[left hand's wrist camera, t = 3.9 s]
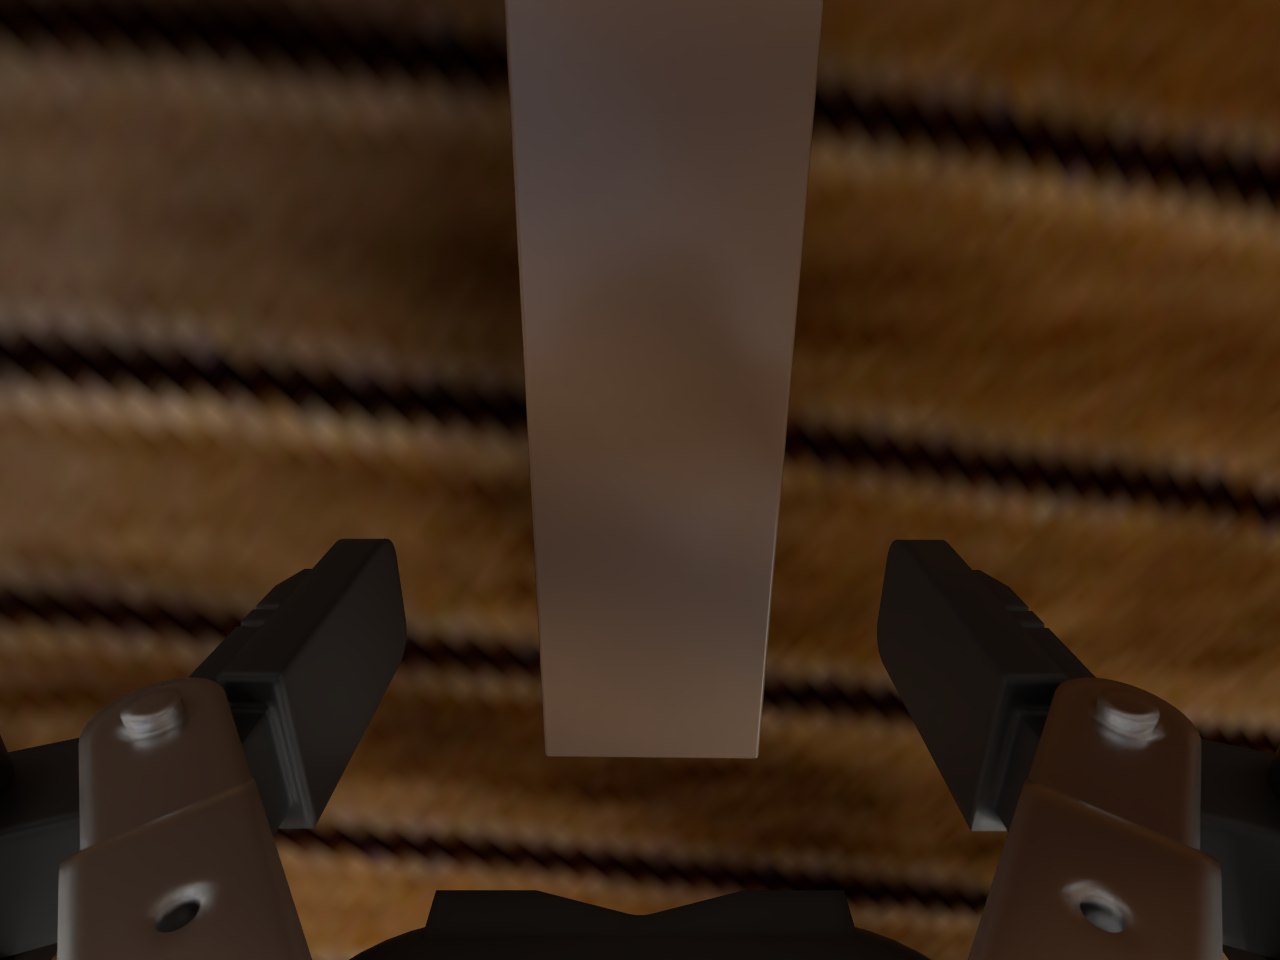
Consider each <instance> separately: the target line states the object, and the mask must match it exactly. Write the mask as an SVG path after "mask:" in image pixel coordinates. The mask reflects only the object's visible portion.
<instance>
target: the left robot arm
mask: <svg viewBox="0 0 1280 960" xmlns="http://www.w3.org/2000/svg"><path fill="white" fill-rule="evenodd" d="M877 640H878V648H879V653H880V657H881V660H882V662H883V664H884V666H885V668H886V670H887V672H888V674H889V676H890V678H891V680H892V682H893V683H894V685H895V687H896V689H897V691H898V693H899V695H900V697H901V699H902V701H903V702H904V704H905V706H906V708H907V710H908V712H909V714H910V716H911V718H912V720H913V721H914V723H915V725H916V727H917V729H918V731H919V733H920V735H921V737H922V739H923V740H924V742H925V744H926V746H927V748H928V750H929V752H930V754H931V756H932V757H933V759H934V761H935V763H936V765H937V767H938V769H939V771H940V773H941V775H942V776H943V778H944V780H945V782H946V784H947V786H948V788H949V790H950V792H951V794H952V795H953V797H954V799H955V801H956V803H957V805H958V807H959V809H960V811H961V813H962V814H963V816H964V818H965V820H966V822H967V824H968V826H969V828H970V830H971V831H1008V835H1007V839H1006V842H1005V845H1004V848H1003V851H1002V854H1001V857H1000V861H999V864H998V867H997V870H996V873H995V876H994V879H993V883H992V886H991V889H990V892H989V895H988V898H987V901H986V905H985V908H984V911H983V914H982V917H981V920H980V923H979V927H978V930H977V933H976V936H975V939H974V942H973V945H972V949H971V952H970V955H969V958H968V960H1223V952H1224V954H1225V955H1226V956H1227V958H1228V959H1229V960H1280V745H1279V747H1278V749H1277V751H1276V754H1272V753H1267V752H1262V751H1257V750H1253V749H1248V748H1243V747H1238V746H1233V745H1228V744H1223V743H1218V742H1214V741H1209V740H1204V739H1201V738H1200V735H1199V733H1198V731H1197V729H1196V728H1195V726H1194V725H1193V724H1192V722H1191V721H1190V720H1189V719H1188V718H1187V717H1186V716H1185V715H1184V714H1183V713H1181V712H1180V711H1179V710H1178V709H1176V708H1175V707H1174V706H1172V705H1170V704H1169V703H1167V702H1166V701H1164V700H1162V699H1161V698H1159V697H1157V696H1155V695H1153V694H1151V693H1149V692H1147V691H1144V690H1142V689H1139V688H1137V687H1134V686H1131V685H1128V684H1125V683H1121V682H1118V681H1113V680H1108V679H1102V678H1096V677H1095V676H1094V675H1093V674H1092V673H1091V672H1090V671H1089V670H1088V669H1087V668H1086V667H1085V666H1084V665H1083V664H1082V663H1081V662H1080V661H1079V660H1078V658H1077V657H1076V656H1075V655H1074V654H1073V653H1072V652H1071V651H1070V650H1069V649H1068V648H1067V647H1066V646H1065V645H1064V644H1063V643H1062V642H1061V641H1060V640H1059V639H1058V638H1057V637H1056V636H1055V635H1054V633H1053V632H1052V631H1051V630H1050V629H1049V628H1044V623H1043V622H1042V621H1041V620H1040V619H1039V618H1038V617H1037V616H1036V615H1035V614H1034V613H1033V612H1032V611H1028V606H1027V605H1026V604H1025V603H1024V602H1023V601H1022V600H1021V599H1020V598H1019V597H1018V596H1017V595H1016V594H1015V593H1014V592H1013V591H1012V590H1011V589H1010V588H1009V587H1008V586H1006V585H1004V584H1003V583H1001V582H999V581H998V580H996V579H994V578H992V577H991V576H989V575H987V574H985V573H984V572H982V571H980V570H972V569H971V568H970V567H969V566H968V565H967V564H966V563H965V562H964V561H963V559H962V558H961V557H960V556H959V555H958V554H957V553H956V552H955V551H954V549H953V548H952V547H951V546H950V545H949V544H948V543H947V542H946V541H944V540H895V541H894V542H893V543H892V544H891V546H890V548H889V552H888V557H887V563H886V570H885V577H884V583H883V590H882V597H881V604H880V610H879V617H878V625H877ZM405 644H406V619H405V612H404V605H403V598H402V591H401V585H400V578H399V571H398V564H397V557H396V552H395V548H394V546H393V543H392V542H391V541H390V540H389V539H340V540H338V541H337V542H336V543H335V544H334V545H333V546H332V547H331V549H330V550H329V551H328V552H327V553H326V554H325V555H324V556H323V558H322V559H321V560H320V561H319V562H318V563H317V564H316V565H315V567H314V568H313V569H304V570H302V571H300V572H299V573H297V574H295V575H293V576H292V577H290V578H288V579H286V580H285V581H283V582H281V583H280V584H278V585H276V586H275V587H274V588H273V589H272V590H271V591H270V592H269V593H268V594H267V595H266V596H265V597H264V598H263V599H262V601H261V602H260V603H259V604H258V605H257V609H256V610H252V611H251V612H250V613H249V614H248V615H247V616H246V617H245V618H244V619H243V621H242V622H241V626H240V627H236V628H235V629H234V630H233V631H232V632H231V633H230V634H229V635H228V636H227V637H226V638H225V639H224V641H223V642H222V643H221V644H220V645H219V646H218V647H217V648H216V649H215V650H214V651H213V652H212V653H211V654H210V655H209V656H208V657H207V658H206V659H205V661H204V662H203V663H202V664H201V665H200V666H199V667H198V668H197V669H196V670H195V671H194V672H193V673H192V674H191V675H190V676H189V677H188V678H178V679H172V680H167V681H162V682H159V683H155V684H152V685H149V686H146V687H143V688H141V689H138V690H136V691H133V692H131V693H129V694H127V695H125V696H123V697H121V698H119V699H118V700H116V701H114V702H113V703H111V704H110V705H108V706H106V707H105V708H104V709H102V710H101V711H100V712H99V713H97V714H96V715H95V716H94V717H93V718H92V719H91V720H90V721H89V722H88V724H87V725H86V726H85V728H84V729H83V731H82V733H81V735H80V738H76V739H71V740H66V741H62V742H57V743H52V744H47V745H42V746H37V747H32V748H27V749H22V750H18V751H13V752H7V750H6V747H5V745H4V743H3V740H2V738H1V736H0V960H51V959H52V958H53V956H54V955H55V954H56V952H57V960H312V958H311V955H310V952H309V949H308V945H307V942H306V939H305V936H304V933H303V930H302V927H301V923H300V920H299V917H298V914H297V911H296V908H295V905H294V901H293V898H292V895H291V892H290V889H289V886H288V883H287V879H286V876H285V873H284V870H283V867H282V864H281V861H280V857H279V854H278V851H277V848H276V845H275V842H274V839H273V837H274V835H275V833H276V832H277V830H278V828H315V826H316V824H317V822H318V820H319V818H320V816H321V814H322V812H323V810H324V809H325V807H326V805H327V803H328V801H329V799H330V797H331V795H332V793H333V791H334V789H335V787H336V785H337V784H338V782H339V780H340V778H341V776H342V774H343V772H344V770H345V768H346V766H347V764H348V762H349V760H350V759H351V757H352V755H353V753H354V751H355V749H356V747H357V745H358V743H359V741H360V739H361V737H362V735H363V734H364V732H365V730H366V728H367V726H368V724H369V722H370V720H371V718H372V716H373V714H374V712H375V711H376V709H377V707H378V705H379V703H380V701H381V699H382V697H383V695H384V693H385V691H386V689H387V687H388V686H389V684H390V682H391V680H392V678H393V676H394V674H395V672H396V670H397V668H398V666H399V664H400V662H401V660H402V657H403V654H404V650H405ZM349 960H931V959H929V958H927V957H926V956H924V955H922V954H921V953H919V952H917V951H915V950H913V949H911V948H909V947H907V946H905V945H903V944H901V943H898V942H896V941H894V940H892V939H889V938H886V937H884V936H881V935H878V934H876V933H873V932H870V931H867V930H864V929H860V928H856V927H854V923H853V920H852V916H851V913H850V910H849V906H848V903H847V900H846V896H845V893H844V890H743V891H739V892H736V893H732V894H728V895H724V896H720V897H716V898H712V899H708V900H704V901H700V902H697V903H693V904H689V905H685V906H681V907H677V908H673V909H669V910H665V911H661V912H657V913H654V914H649V915H631V914H626V913H623V912H619V911H615V910H611V909H607V908H603V907H599V906H595V905H591V904H587V903H583V902H580V901H576V900H572V899H568V898H564V897H560V896H556V895H552V894H548V893H544V892H541V891H537V890H436V893H435V896H434V900H433V903H432V906H431V910H430V913H429V916H428V920H427V923H426V927H424V928H420V929H417V930H413V931H410V932H407V933H404V934H402V935H399V936H396V937H394V938H391V939H388V940H386V941H384V942H382V943H379V944H377V945H375V946H373V947H371V948H369V949H367V950H365V951H363V952H361V953H359V954H358V955H356V956H354V957H353V958H351V959H349Z"/></svg>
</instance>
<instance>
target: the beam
mask: <svg viewBox="0 0 1280 960" xmlns="http://www.w3.org/2000/svg"><path fill="white" fill-rule="evenodd" d="M823 4H824V0H504V11H505V29H506V47H507V66H508V84H509V102H510V120H511V138H512V157H513V175H514V193H515V211H516V229H517V247H518V266H519V284H520V302H521V320H522V338H523V356H524V375H525V393H526V411H527V429H528V447H529V466H530V484H531V502H532V520H533V538H534V556H535V575H536V593H537V611H538V629H539V647H540V666H541V684H542V702H543V720H544V738H545V753H546V755H547V756H567V757H660V758H754V759H755V758H757V757H758V755H759V744H760V732H761V721H762V709H763V697H764V686H765V674H766V663H767V651H768V640H769V628H770V617H771V605H772V593H773V582H774V570H775V559H776V547H777V536H778V524H779V513H780V501H781V490H782V478H783V466H784V455H785V443H786V432H787V420H788V409H789V397H790V386H791V374H792V362H793V351H794V339H795V328H796V316H797V305H798V293H799V282H800V270H801V259H802V247H803V235H804V224H805V212H806V201H807V189H808V178H809V166H810V155H811V143H812V132H813V120H814V108H815V97H816V85H817V74H818V62H819V51H820V39H821V28H822V16H823Z"/></svg>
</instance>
